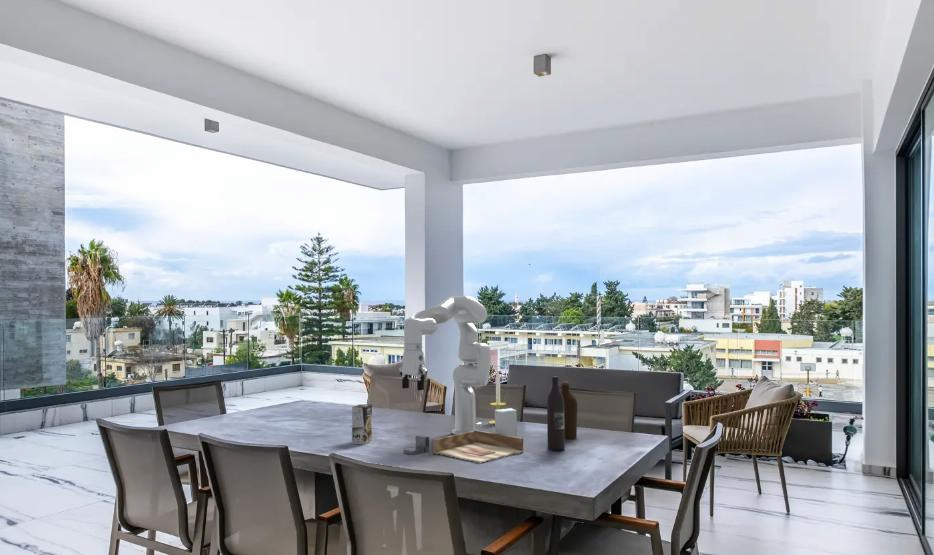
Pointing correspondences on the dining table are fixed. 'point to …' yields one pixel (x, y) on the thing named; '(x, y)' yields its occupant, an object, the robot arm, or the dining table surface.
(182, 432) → the dining table surface
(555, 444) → the wine bottle
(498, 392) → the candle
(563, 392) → the olive oil
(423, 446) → the gray t-shaped block
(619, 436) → the dining table surface
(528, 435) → the dining table surface
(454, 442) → the corner arena
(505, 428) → the skincare box
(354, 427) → the coffee box
